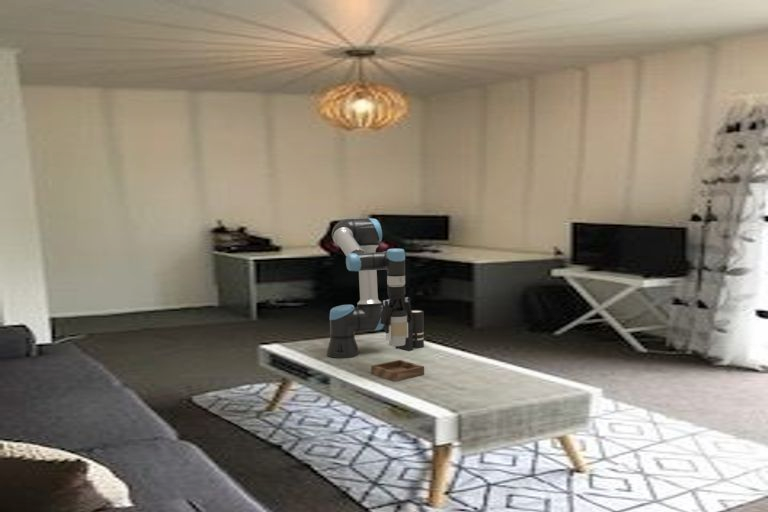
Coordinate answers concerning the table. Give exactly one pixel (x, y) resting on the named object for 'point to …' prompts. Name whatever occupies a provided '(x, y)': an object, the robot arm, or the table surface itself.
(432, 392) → the table surface
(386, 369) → the tray
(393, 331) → the coffee cup
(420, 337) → the light fixture
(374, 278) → the robot arm
